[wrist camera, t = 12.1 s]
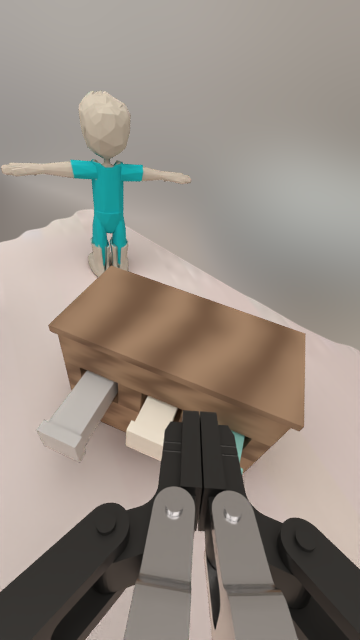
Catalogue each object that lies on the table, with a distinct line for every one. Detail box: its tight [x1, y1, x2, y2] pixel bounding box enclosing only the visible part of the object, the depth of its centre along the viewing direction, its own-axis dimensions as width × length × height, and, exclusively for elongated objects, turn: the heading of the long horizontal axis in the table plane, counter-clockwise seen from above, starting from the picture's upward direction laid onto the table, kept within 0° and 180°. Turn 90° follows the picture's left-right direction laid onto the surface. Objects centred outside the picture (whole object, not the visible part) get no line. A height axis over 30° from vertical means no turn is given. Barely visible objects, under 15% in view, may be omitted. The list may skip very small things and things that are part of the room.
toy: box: [1, 91, 191, 277], centre depth 49 cm, size 30×9×30 cm, turn 108°
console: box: [49, 266, 305, 474], centre depth 32 cm, size 23×11×17 cm, turn 70°
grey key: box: [36, 370, 118, 463], centre depth 27 cm, size 4×9×4 cm, turn 160°
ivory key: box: [126, 396, 178, 461], centre depth 29 cm, size 4×9×4 cm, turn 160°
